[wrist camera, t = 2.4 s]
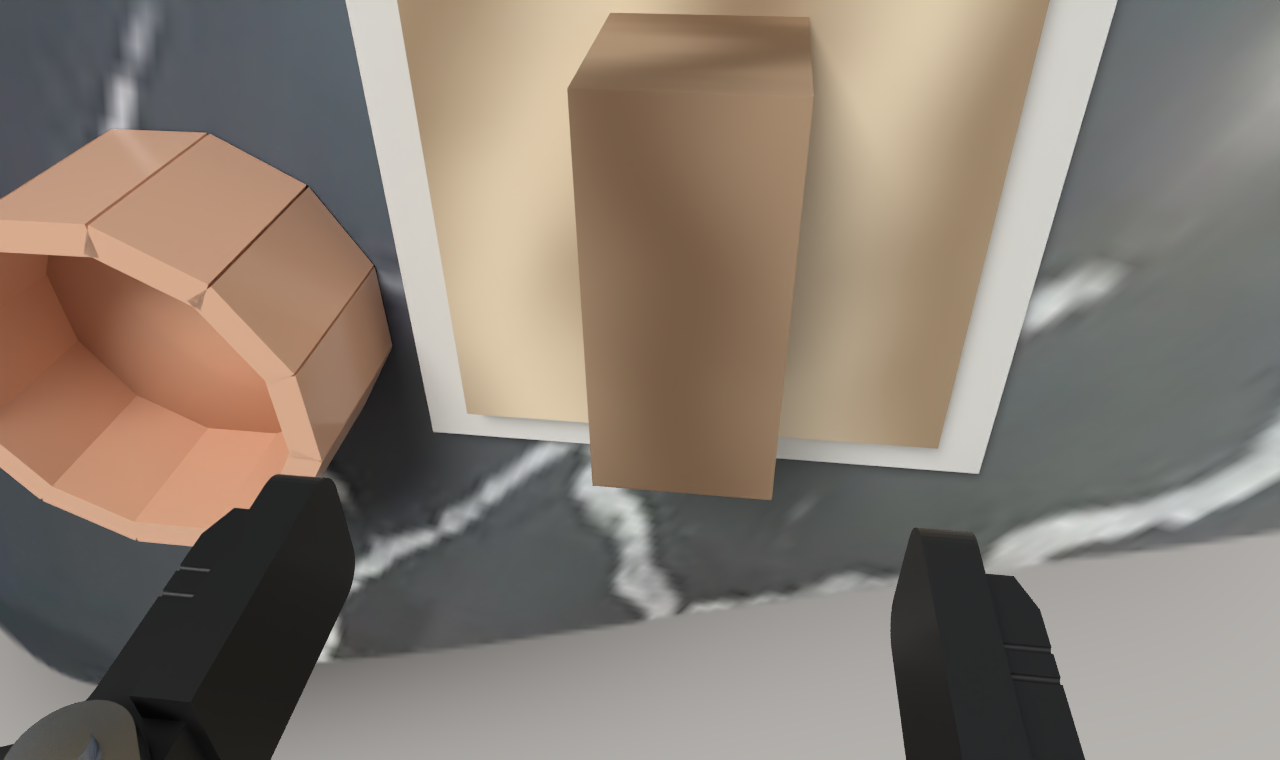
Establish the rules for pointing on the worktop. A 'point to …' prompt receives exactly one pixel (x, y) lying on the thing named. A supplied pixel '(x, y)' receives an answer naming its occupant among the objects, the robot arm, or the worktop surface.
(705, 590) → the worktop surface
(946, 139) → the lid
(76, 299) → the bowl
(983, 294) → the mat
